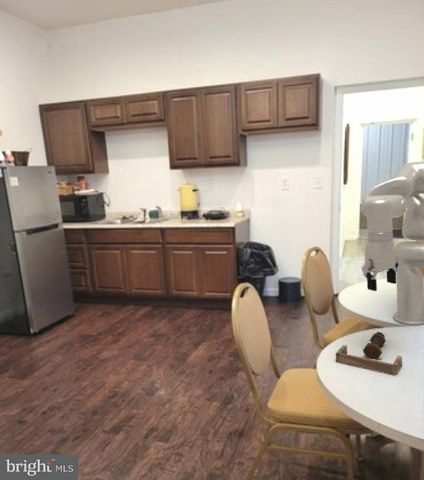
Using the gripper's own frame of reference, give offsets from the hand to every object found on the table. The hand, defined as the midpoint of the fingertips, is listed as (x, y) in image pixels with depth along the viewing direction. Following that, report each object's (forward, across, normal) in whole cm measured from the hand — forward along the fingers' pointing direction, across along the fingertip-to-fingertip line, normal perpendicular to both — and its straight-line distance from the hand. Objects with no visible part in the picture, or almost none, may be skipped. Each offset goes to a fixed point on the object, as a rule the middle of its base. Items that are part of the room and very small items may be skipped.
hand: (382, 286), depth 126 cm
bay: (+22, +13, +4) cm, 26 cm away
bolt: (+23, +3, -1) cm, 23 cm away
